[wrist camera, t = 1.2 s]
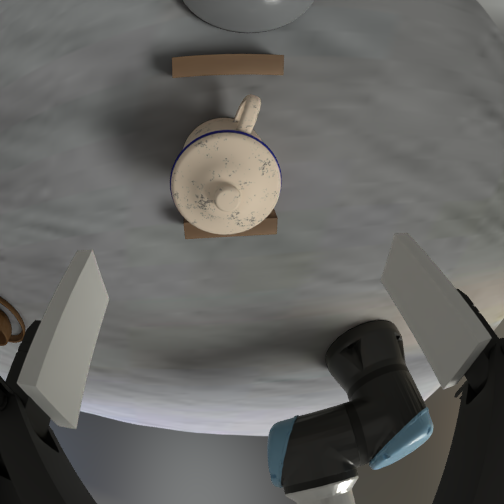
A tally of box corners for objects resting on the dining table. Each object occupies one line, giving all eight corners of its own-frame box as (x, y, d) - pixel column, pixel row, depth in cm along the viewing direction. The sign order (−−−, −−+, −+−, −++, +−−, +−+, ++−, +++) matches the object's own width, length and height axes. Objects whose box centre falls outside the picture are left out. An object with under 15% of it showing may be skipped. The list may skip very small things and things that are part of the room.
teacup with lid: (247, 204, 35) (262, 265, 25) (170, 182, 32) (152, 237, 23) (289, 107, 29) (327, 128, 19) (205, 77, 26) (199, 81, 17)
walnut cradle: (272, 221, 36) (276, 234, 34) (187, 225, 35) (185, 239, 33) (277, 56, 26) (283, 55, 23) (176, 58, 25) (171, 57, 22)
